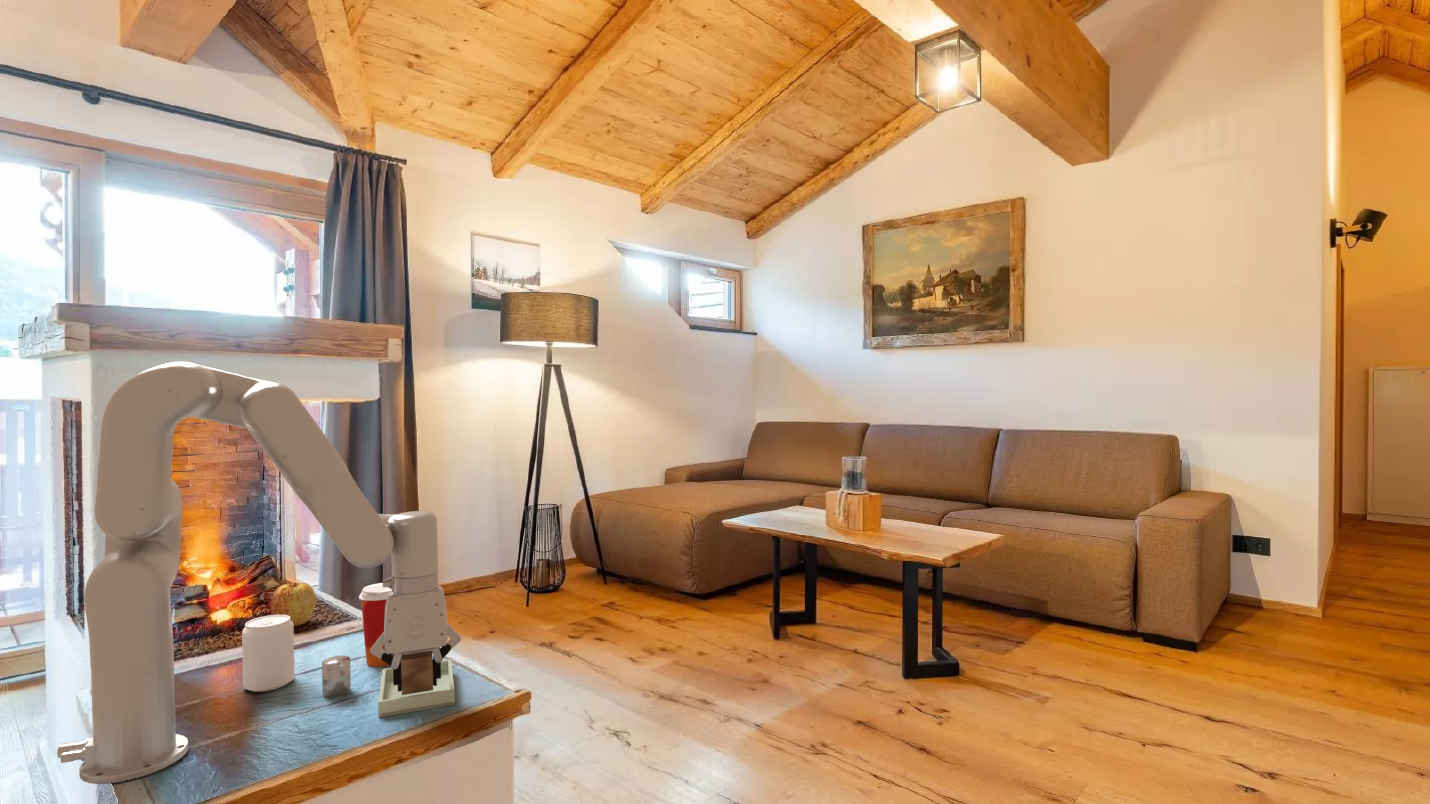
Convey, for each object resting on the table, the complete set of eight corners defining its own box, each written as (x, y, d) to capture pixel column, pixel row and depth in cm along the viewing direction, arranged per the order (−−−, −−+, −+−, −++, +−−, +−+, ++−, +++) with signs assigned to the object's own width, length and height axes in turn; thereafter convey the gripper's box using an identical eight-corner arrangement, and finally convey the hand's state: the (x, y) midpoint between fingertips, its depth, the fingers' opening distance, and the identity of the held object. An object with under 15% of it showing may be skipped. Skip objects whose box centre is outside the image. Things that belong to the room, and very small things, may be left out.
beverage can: (303, 680, 135) (302, 617, 135) (259, 697, 128) (258, 630, 128) (278, 672, 139) (277, 611, 139) (234, 688, 132) (232, 623, 131)
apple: (295, 617, 172) (294, 575, 172) (325, 620, 170) (325, 578, 169) (261, 629, 163) (260, 586, 163) (294, 633, 161) (293, 589, 160)
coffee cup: (393, 650, 150) (392, 579, 150) (413, 659, 145) (411, 586, 145) (352, 662, 144) (350, 588, 143) (371, 673, 139) (370, 596, 138)
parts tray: (378, 717, 120) (378, 702, 120) (382, 682, 134) (382, 669, 134) (454, 704, 125) (454, 690, 125) (451, 672, 138) (451, 659, 138)
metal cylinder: (321, 700, 127) (320, 666, 127) (324, 690, 131) (323, 657, 131) (349, 695, 128) (348, 662, 128) (351, 686, 133) (351, 654, 132)
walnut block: (401, 695, 123) (401, 660, 123) (402, 683, 127) (401, 650, 127) (433, 690, 125) (432, 656, 124) (432, 679, 129) (431, 646, 129)
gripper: (359, 594, 119) (362, 703, 119) (468, 583, 125) (470, 685, 126) (362, 583, 126) (365, 685, 126) (465, 572, 132) (467, 670, 133)
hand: (417, 684), depth 126 cm, fingers closed on walnut block, 5 cm apart
